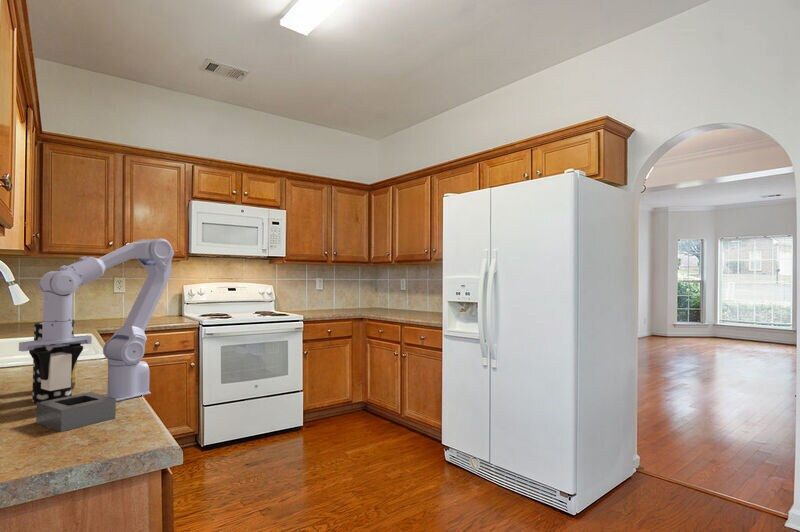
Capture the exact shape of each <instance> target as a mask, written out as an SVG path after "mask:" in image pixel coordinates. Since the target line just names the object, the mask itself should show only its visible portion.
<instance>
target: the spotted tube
mask: <svg viewBox="0 0 800 532" xmlns="http://www.w3.org/2000/svg"><path fill="white" fill-rule="evenodd" d="M73 327H74V328H75V323H74V322H72V337H73V335H74V334H73V332H74V329H73ZM33 328H34V329H33V341H34V340H41V339H42V328H43V321H42V322H35V323H34V325H33ZM62 344H68V343H62ZM50 345H59V344H50ZM50 345H49V346H50ZM62 347H63V346H62ZM62 347H54V348H46V350H47V349H48V351H50V352H51V354H53V353H61V352H63V348H62ZM32 359H33V358H32ZM32 362H33V363H32V390H31V391H32V394H31V396H32V397H31V402H32V403H34V404H37V402H42V401H47V400H53V399H58V398H63V397H68V396H73V388H72V376H71V387H69V388H64V389H58V390H53V391H48V390H44V389H41V379H40V374H39V371H38V368H37V365H36V363H35V361H34V359H33V361H32Z"/></svg>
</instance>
